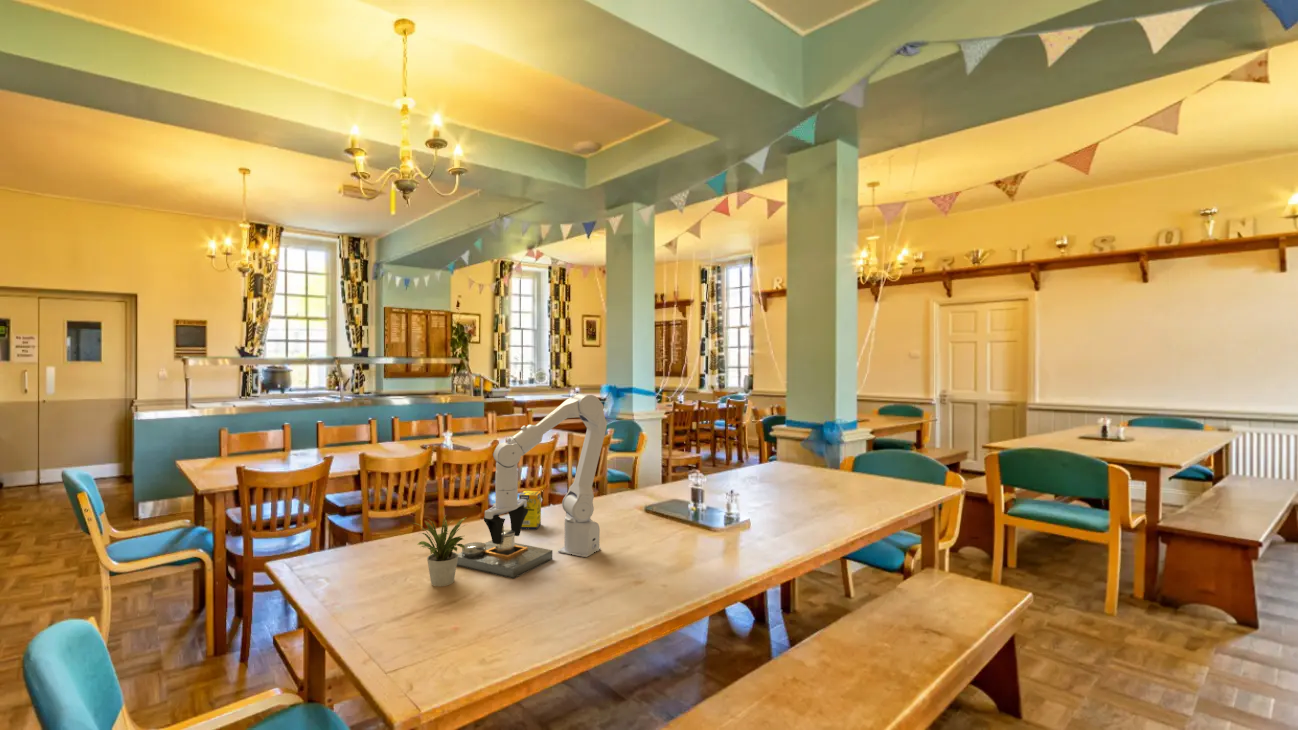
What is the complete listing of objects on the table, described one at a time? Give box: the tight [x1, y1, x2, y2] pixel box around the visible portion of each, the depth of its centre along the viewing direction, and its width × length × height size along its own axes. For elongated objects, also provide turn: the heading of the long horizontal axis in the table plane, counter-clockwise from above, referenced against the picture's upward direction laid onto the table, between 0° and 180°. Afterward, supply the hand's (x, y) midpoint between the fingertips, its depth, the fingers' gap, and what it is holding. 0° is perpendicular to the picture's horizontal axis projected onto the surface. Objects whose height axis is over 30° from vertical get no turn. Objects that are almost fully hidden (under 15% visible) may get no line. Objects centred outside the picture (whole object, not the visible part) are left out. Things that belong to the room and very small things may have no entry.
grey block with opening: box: [456, 539, 553, 580], centre depth 155 cm, size 20×16×4 cm
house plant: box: [413, 514, 468, 587], centre depth 140 cm, size 14×14×16 cm
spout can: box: [495, 525, 516, 555], centre depth 156 cm, size 5×5×9 cm
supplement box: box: [518, 490, 542, 530], centre depth 188 cm, size 6×6×11 cm
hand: (506, 539), depth 156 cm, fingers open, 7 cm apart
